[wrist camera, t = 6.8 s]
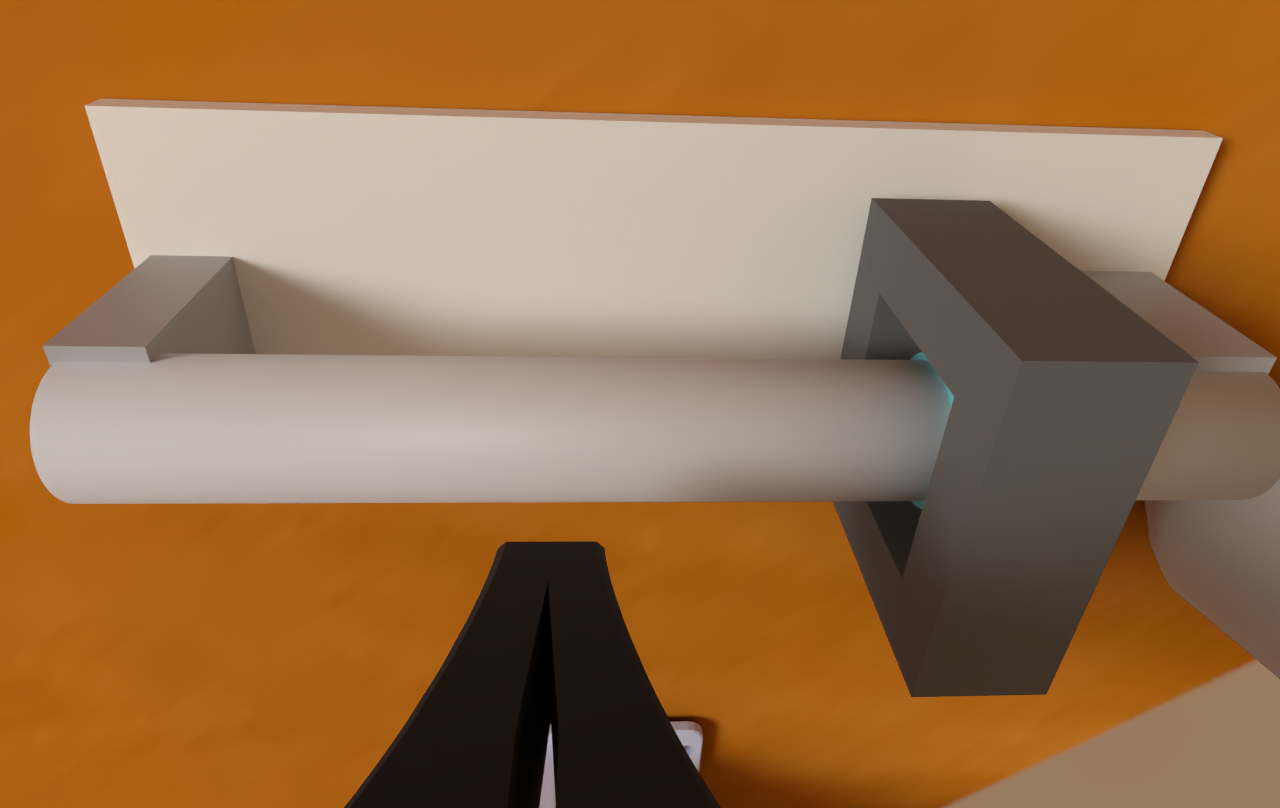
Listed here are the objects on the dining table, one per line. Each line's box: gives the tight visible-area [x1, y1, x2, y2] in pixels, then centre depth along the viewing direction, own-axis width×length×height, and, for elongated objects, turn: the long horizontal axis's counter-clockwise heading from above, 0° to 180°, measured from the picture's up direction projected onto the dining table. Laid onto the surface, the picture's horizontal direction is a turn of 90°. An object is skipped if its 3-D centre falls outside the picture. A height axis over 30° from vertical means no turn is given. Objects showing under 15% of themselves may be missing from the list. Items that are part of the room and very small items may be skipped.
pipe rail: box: [30, 99, 1280, 509], centre depth 16 cm, size 22×9×6 cm, turn 88°
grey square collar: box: [833, 198, 1199, 697], centre depth 15 cm, size 2×7×7 cm, turn 178°
